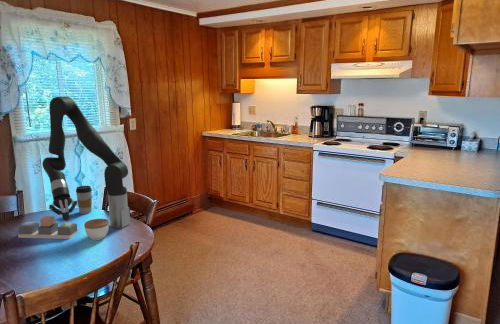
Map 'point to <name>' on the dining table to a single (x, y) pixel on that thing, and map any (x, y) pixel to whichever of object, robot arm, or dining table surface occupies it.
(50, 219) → the terracotta key
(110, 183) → the robot arm
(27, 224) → the slate key
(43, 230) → the keypad board
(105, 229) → the lidded jar
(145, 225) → the dining table surface
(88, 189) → the coffee cup
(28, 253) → the dining table surface
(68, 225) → the sage key
